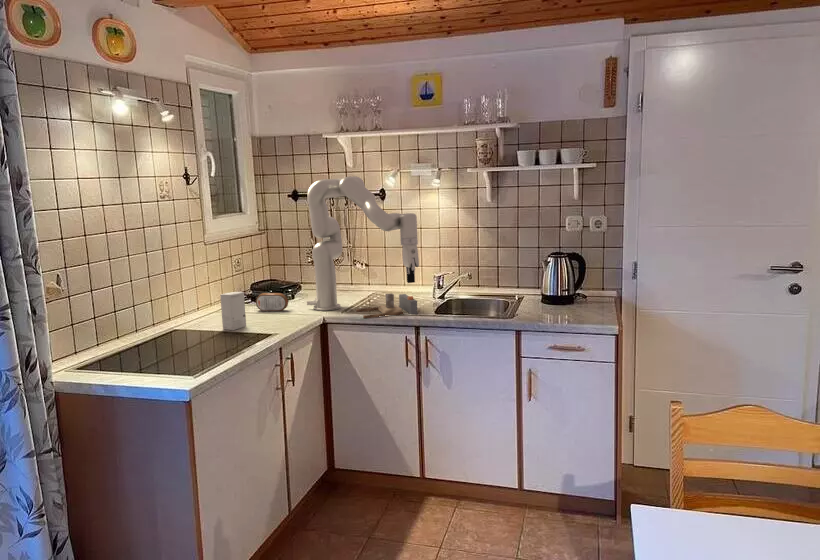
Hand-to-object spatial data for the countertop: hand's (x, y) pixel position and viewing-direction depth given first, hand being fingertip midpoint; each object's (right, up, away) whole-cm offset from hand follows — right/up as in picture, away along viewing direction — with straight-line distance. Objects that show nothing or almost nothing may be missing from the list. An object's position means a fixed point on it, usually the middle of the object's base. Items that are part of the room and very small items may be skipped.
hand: (411, 282), depth 282 cm
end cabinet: (-1, -13, +6) cm, 14 cm away
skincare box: (-74, -19, -18) cm, 78 cm away
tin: (-65, -14, +14) cm, 68 cm away
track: (-14, -14, +2) cm, 20 cm away
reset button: (0, -10, +2) cm, 10 cm away
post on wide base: (-9, -13, +4) cm, 17 cm away
